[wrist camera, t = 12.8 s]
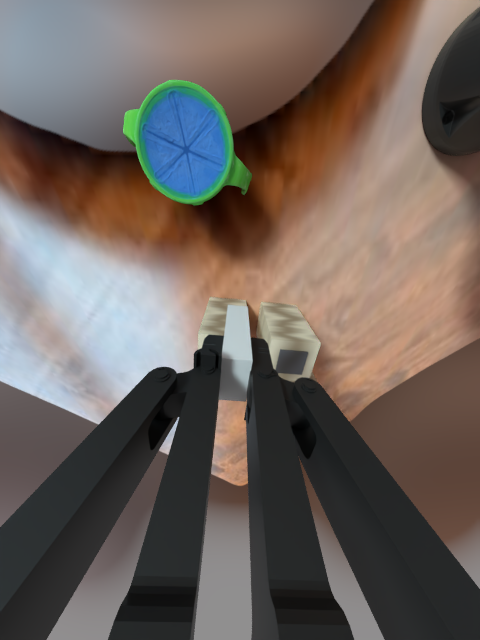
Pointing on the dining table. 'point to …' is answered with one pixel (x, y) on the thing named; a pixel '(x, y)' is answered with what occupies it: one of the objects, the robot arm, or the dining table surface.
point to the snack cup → (185, 143)
